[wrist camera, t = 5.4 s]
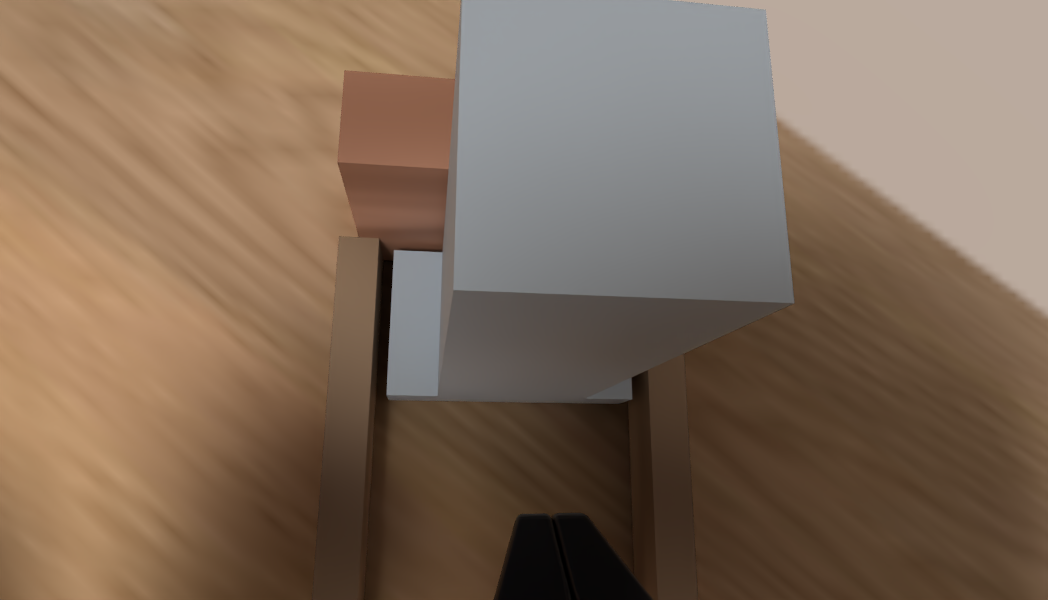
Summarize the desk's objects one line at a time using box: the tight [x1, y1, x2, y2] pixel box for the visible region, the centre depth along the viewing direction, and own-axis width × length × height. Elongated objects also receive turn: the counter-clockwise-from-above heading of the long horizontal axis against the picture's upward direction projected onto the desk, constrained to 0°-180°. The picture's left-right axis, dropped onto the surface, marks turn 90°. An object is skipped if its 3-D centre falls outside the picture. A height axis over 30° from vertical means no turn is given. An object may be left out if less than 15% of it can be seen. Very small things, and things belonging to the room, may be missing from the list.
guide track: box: [312, 71, 698, 600], centre depth 12 cm, size 13×7×5 cm, turn 0°
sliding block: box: [386, 0, 794, 404], centre depth 11 cm, size 3×5×9 cm, turn 90°
